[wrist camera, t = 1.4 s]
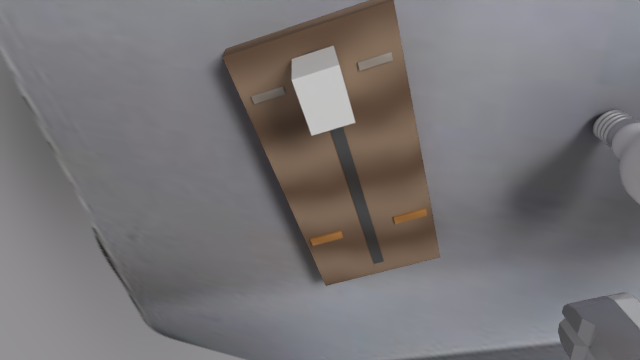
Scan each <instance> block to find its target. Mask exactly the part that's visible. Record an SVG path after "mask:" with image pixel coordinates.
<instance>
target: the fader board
mask: <svg viewBox="0 0 640 360" xmlns="http://www.w3.org/2000/svg"><path fill="white" fill-rule="evenodd" d="M330 46H334V49H335V52H336V55H337V59H338V62H339V65H340V69H341V73H342V76H343V80H344V83H345V87H346V90H347V94H348V97H349V101H350V105H351V108H352V112H353V115H354V119H355V122H356V123H353V124H349V125H346V126H343V127H339V128H336V129H333V130H329V131H326V132H323V133H319V134H316V135H313V136H312V135H311V133H310V130H309V127H308V124H307V121H306V119H305V116H304V113H303V110H302V108H301V105H300V102H299V99H298V97H297V94H296V91H295V88H294V86H293V83H292V59H294V58H297V57H300V56H303V55H306V54H309V53H312V52H315V51H318V50H321V49H324V48H327V47H330ZM222 58H223V60H224V62H225V64H226V66H227V69H228V71H229V73H230V75H231V77H232V80H233V82H234V84H235V86H236V89H237V91H238V93H239V95H240V97H241V100H242V102H243V104H244V106H245V108H246V111H247V113H248V115H249V117H250V119H251V122H252V124H253V126H254V128H255V130H256V133H257V135H258V137H259V139H260V141H261V144H262V146H263V148H264V150H265V153H266V155H267V157H268V159H269V161H270V164H271V166H272V168H273V170H274V172H275V175H276V177H277V179H278V181H279V183H280V186H281V188H282V190H283V192H284V194H285V197H286V199H287V201H288V203H289V205H290V208H291V210H292V212H293V214H294V217H295V219H296V221H297V223H298V225H299V228H300V230H301V232H302V234H303V236H304V239H305V241H306V243H307V245H308V247H309V250H310V252H311V254H312V256H313V258H314V261H315V263H316V265H317V267H318V269H319V272H320V274H321V276H322V278H323V281H324V283H325V285H326V286H327V285H331V284H335V283H339V282H343V281H347V280H351V279H355V278H359V277H363V276H367V275H371V274H375V273H379V272H383V271H387V270H391V269H395V268H399V267H403V266H407V265H411V264H415V263H419V262H423V261H427V260H431V259H435V258H439V257H440V253H439V248H438V242H437V237H436V231H435V226H434V220H433V215H432V209H431V204H430V198H429V193H428V187H427V182H426V176H425V171H424V165H423V160H422V154H421V149H420V143H419V138H418V132H417V127H416V121H415V116H414V110H413V105H412V99H411V94H410V88H409V83H408V77H407V72H406V66H405V61H404V55H403V50H402V44H401V39H400V33H399V28H398V22H397V17H396V11H395V6H394V0H369V1H366V2H364V3H361V4H358V5H355V6H352V7H349V8H346V9H343V10H340V11H337V12H334V13H331V14H328V15H325V16H322V17H319V18H316V19H313V20H310V21H307V22H304V23H301V24H298V25H295V26H292V27H289V28H286V29H284V30H281V31H278V32H275V33H272V34H269V35H266V36H263V37H260V38H257V39H254V40H251V41H248V42H245V43H242V44H239V45H236V46H233V47H230V48H227V49H226V51H225V53H224V55H223V57H222Z"/></svg>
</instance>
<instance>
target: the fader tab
mask: <svg viewBox="0 0 640 360" xmlns="http://www.w3.org/2000/svg"><path fill="white" fill-rule="evenodd" d="M292 83H293V86H294V88H295V91H296V94H297V97H298V99H299V102H300V105H301V108H302V110H303V113H304V116H305V119H306V121H307V124H308V127H309V130H310V133H311V135H312V136H313V135H316V134H319V133H323V132H326V131H329V130H333V129H336V128H339V127H343V126H346V125H349V124H353V123H356V122H355V119H354V115H353V112H352V108H351V105H350V101H349V97H348V94H347V90H346V87H345V83H344V80H343V76H342V73H341V69H340V65H339V62H338V59H337V55H336V52H335V49H334V46H330V47H327V48H324V49H321V50H318V51H315V52H312V53H309V54H306V55H303V56H300V57H297V58H294V59H292Z"/></svg>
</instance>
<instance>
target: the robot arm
mask: <svg viewBox="0 0 640 360" xmlns="http://www.w3.org/2000/svg"><path fill="white" fill-rule="evenodd" d="M562 313H563V315H564V316H565V319H564V320H563V321H561V322H560V323H559V329H558V333H559V337H560V341H561V344H562V346H563V348H564V350H565V351H566V353H567V355H568V356H569V358H570V359H571V360H640V302H639V301H638V300H637V299H636V298H635V297H634V296H632V295H631V294H629V293H619V294H614V295H609V296H602V297H598V298H593V299H588V300H584V301H579V302H575V303H570V304H567V305H565V306H564V307H563V311H562Z"/></svg>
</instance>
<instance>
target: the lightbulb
mask: <svg viewBox="0 0 640 360" xmlns="http://www.w3.org/2000/svg"><path fill="white" fill-rule="evenodd" d="M593 133H594V135H595V136H596V137H597V138H599V139H600V140H602V141H603V142H604V143H606V144H607V145H608V146H609V147H611V148H612V151H613V153H614V155H615V156H616V158H617V159H618V160H619V172H620V178H621V182H622V185H623V187H624V189H625V190H626V192H627V193H628V194H629V196H630V197H631V198H632V199H633V200H634V201H636V202H637V203H638V204H640V121H638V120H636V119H634V118H633V117H631V116H630V115H627V114H626V113H624V112H623V111H621V110H611V111H608V112H606V113H604V114H602V115H601V116H600V117H599V118H598V119H597V120H596V122H595V123H594V126H593Z"/></svg>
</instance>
